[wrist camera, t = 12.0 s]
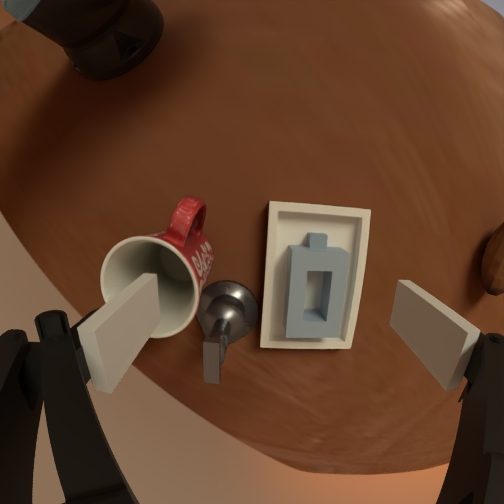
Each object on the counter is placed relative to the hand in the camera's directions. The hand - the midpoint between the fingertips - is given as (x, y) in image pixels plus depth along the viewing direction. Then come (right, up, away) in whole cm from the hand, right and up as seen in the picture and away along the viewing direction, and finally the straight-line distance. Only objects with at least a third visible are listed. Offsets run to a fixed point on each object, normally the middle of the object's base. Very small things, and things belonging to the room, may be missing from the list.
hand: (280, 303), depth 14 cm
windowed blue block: (+6, -2, +20) cm, 21 cm away
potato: (+38, +3, +19) cm, 42 cm away
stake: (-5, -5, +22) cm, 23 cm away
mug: (-9, +4, +21) cm, 23 cm away
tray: (+6, -1, +21) cm, 22 cm away
